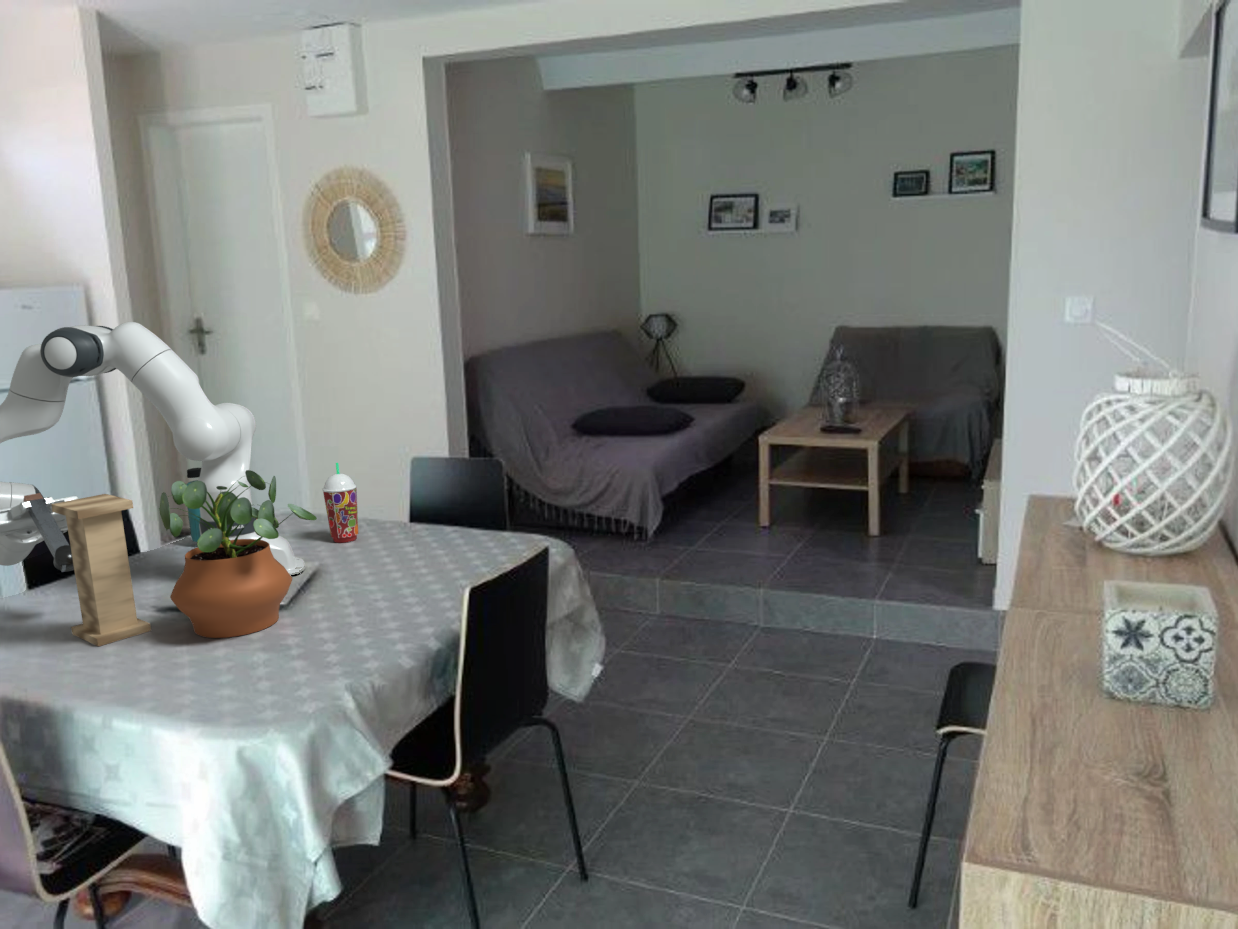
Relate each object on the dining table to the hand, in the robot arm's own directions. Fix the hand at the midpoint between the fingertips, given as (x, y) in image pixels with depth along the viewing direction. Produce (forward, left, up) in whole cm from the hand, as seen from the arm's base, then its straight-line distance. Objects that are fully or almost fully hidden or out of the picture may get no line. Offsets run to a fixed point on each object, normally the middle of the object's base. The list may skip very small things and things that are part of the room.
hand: (38, 502), depth 213 cm
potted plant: (-40, +30, -23) cm, 55 cm away
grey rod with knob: (-2, +3, -7) cm, 8 cm away
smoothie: (-62, -27, -23) cm, 71 cm away
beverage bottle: (-28, -42, -23) cm, 55 cm away
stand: (-14, +24, -23) cm, 36 cm away
